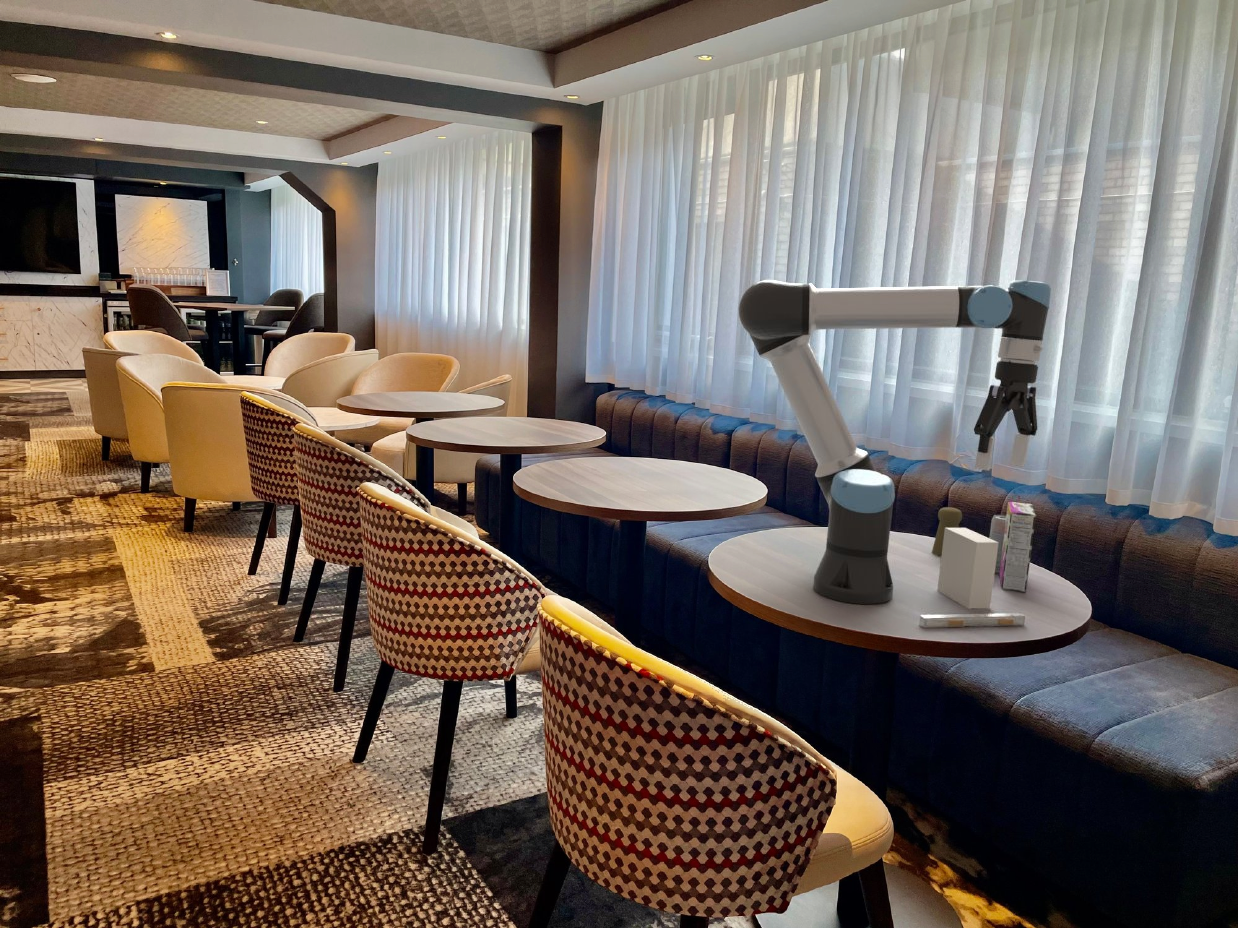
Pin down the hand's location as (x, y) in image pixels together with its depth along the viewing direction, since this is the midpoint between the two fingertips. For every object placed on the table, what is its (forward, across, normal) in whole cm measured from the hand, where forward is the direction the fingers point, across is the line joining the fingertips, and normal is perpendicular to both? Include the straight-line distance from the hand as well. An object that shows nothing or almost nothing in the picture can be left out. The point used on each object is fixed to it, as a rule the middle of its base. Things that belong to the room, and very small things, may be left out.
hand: (1000, 467), depth 181 cm
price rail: (+25, -23, -12) cm, 36 cm away
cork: (+25, +17, +18) cm, 35 cm away
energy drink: (+25, +15, +4) cm, 30 cm away
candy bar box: (+25, +8, -2) cm, 26 cm away
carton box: (+25, -11, -3) cm, 28 cm away
